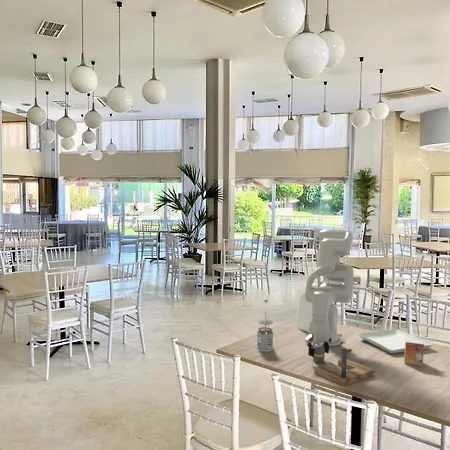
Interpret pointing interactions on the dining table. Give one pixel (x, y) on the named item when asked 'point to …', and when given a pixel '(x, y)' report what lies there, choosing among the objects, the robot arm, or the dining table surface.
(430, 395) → the dining table surface
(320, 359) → the grey cylinder
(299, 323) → the milk
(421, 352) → the small box
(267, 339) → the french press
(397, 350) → the square plate
